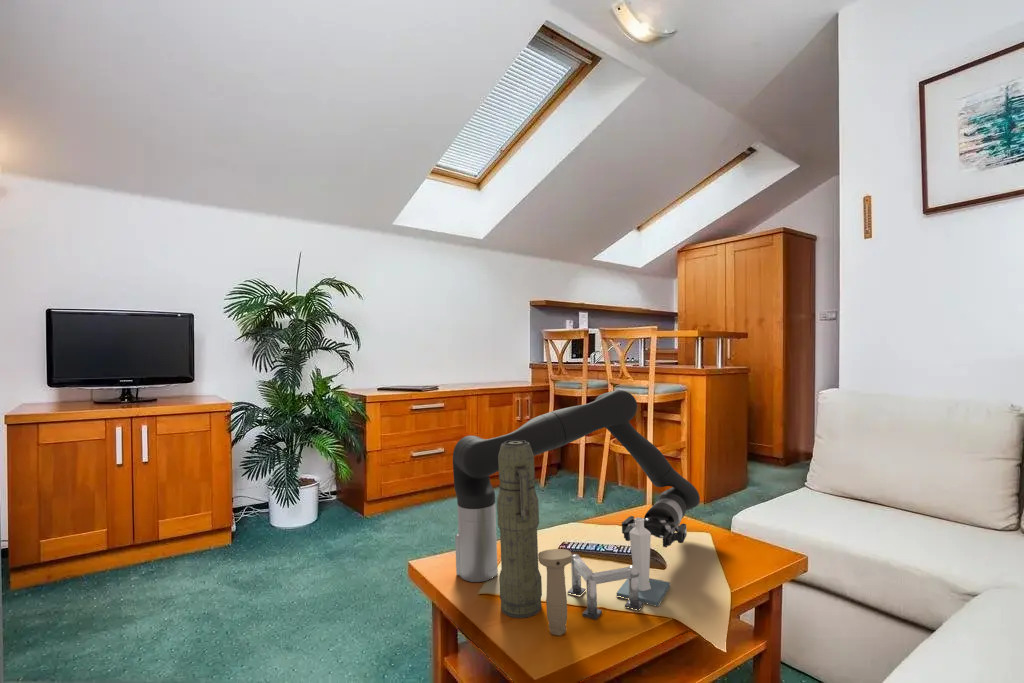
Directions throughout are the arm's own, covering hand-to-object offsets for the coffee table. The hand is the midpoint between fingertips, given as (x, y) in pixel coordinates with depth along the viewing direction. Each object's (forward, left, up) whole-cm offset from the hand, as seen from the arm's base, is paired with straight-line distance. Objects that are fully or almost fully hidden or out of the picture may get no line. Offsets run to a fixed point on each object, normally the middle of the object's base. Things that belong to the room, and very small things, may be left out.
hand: (645, 539), depth 116 cm
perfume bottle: (0, -2, -10) cm, 10 cm away
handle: (-10, -25, -11) cm, 29 cm away
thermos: (-21, -20, -11) cm, 31 cm away
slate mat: (0, -2, -11) cm, 11 cm away
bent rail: (-7, -12, -11) cm, 18 cm away
